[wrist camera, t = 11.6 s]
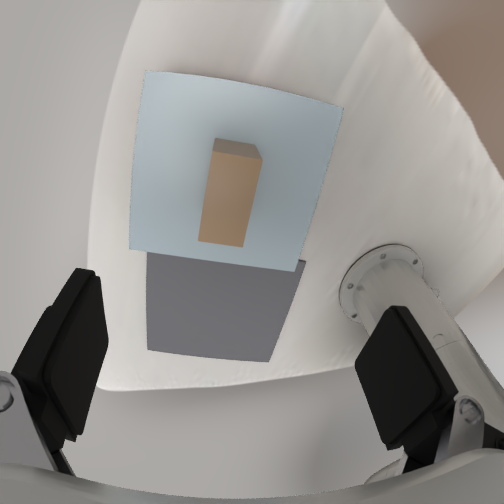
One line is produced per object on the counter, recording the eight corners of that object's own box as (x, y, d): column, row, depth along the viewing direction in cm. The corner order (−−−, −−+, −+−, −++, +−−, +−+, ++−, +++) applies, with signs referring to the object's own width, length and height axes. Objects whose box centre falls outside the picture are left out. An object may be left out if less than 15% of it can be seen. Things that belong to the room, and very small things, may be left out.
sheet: (341, 107, 21) (372, 115, 16) (293, 268, 28) (306, 307, 23) (147, 71, 18) (124, 66, 14) (130, 245, 26) (112, 283, 21)
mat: (305, 260, 35) (306, 262, 35) (268, 360, 44) (268, 362, 44) (148, 238, 32) (147, 240, 32) (148, 347, 41) (147, 349, 40)
